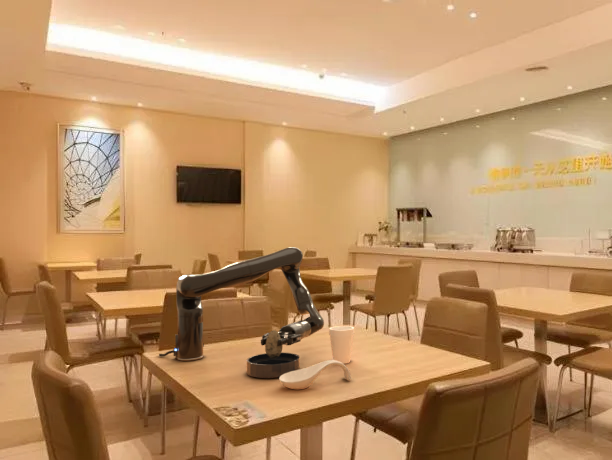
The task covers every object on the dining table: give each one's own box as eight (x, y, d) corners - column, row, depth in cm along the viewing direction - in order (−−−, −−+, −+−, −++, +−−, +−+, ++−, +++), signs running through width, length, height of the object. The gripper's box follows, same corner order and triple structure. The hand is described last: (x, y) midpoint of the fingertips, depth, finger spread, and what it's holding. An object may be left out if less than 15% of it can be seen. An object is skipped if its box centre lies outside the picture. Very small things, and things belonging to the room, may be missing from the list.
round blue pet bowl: (236, 377, 183) (236, 363, 183) (263, 364, 201) (264, 351, 201) (284, 381, 179) (284, 366, 179) (308, 367, 196) (308, 354, 196)
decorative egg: (281, 359, 187) (281, 331, 187) (264, 360, 186) (264, 332, 186) (283, 355, 193) (282, 328, 193) (266, 356, 192) (266, 328, 192)
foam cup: (324, 361, 205) (324, 328, 204) (343, 357, 211) (343, 325, 211) (340, 366, 198) (340, 331, 198) (358, 361, 205) (358, 328, 205)
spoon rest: (284, 394, 164) (284, 371, 164) (274, 385, 174) (274, 363, 174) (355, 383, 176) (355, 362, 176) (342, 375, 186) (342, 354, 186)
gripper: (275, 322, 205) (252, 331, 189) (309, 324, 202) (288, 333, 185) (275, 342, 205) (252, 352, 189) (309, 343, 202) (288, 354, 186)
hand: (270, 342), depth 187 cm, fingers closed on decorative egg, 6 cm apart
